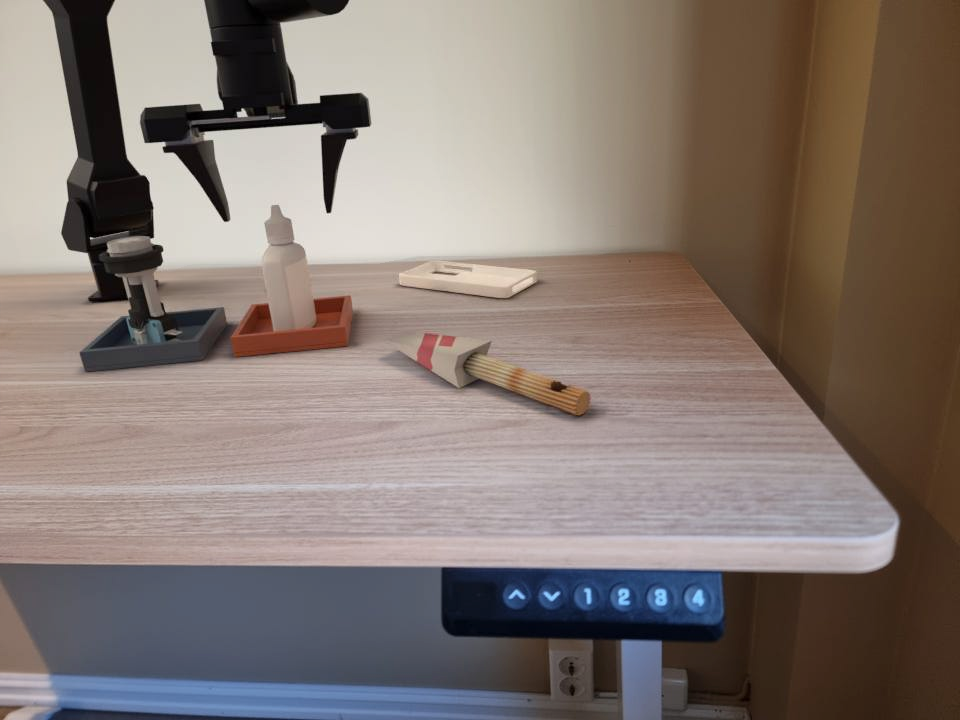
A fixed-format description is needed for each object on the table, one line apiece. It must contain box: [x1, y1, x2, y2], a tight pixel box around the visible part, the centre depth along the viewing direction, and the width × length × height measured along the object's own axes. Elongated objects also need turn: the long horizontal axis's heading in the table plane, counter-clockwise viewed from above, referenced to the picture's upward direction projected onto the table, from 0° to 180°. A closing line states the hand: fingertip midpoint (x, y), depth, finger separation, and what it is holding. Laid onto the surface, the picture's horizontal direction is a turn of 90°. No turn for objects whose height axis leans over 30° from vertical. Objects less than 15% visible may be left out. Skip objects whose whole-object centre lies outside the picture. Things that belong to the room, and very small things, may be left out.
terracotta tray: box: [230, 294, 354, 358], centre depth 67 cm, size 10×10×2 cm
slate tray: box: [78, 306, 228, 373], centre depth 65 cm, size 10×10×2 cm
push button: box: [99, 236, 182, 345], centre depth 63 cm, size 7×5×10 cm
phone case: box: [398, 260, 538, 299], centre depth 79 cm, size 7×1×15 cm
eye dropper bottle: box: [261, 204, 316, 332], centre depth 65 cm, size 4×6×12 cm
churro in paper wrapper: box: [383, 330, 592, 416], centre depth 53 cm, size 4×3×20 cm
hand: (278, 216), depth 63 cm, fingers open, 9 cm apart
